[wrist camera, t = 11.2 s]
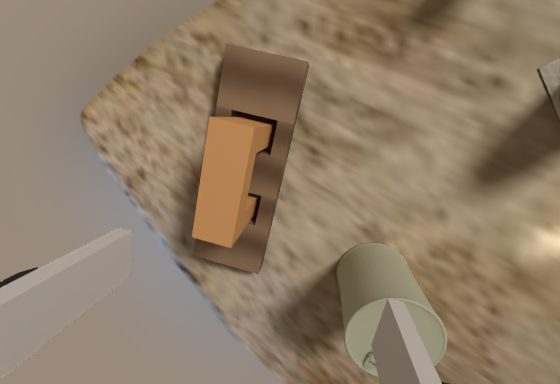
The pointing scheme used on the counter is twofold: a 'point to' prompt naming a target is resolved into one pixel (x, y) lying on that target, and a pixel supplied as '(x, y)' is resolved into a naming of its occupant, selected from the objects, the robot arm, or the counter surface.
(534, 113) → the counter surface
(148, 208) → the counter surface
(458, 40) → the counter surface
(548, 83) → the condiment
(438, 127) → the counter surface
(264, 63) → the rail
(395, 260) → the can
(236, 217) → the orange block
